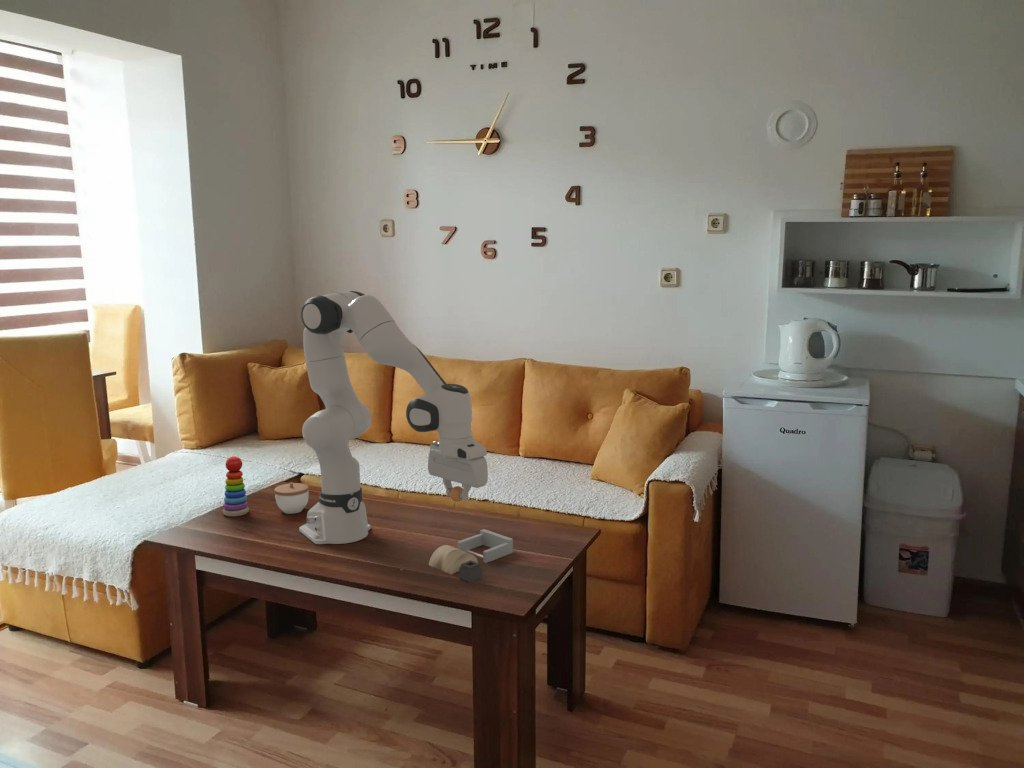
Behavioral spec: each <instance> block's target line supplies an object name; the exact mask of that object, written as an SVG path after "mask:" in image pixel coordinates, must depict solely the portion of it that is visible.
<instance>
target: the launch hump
mask: <svg viewBox="0 0 1024 768" xmlns="http://www.w3.org/2000/svg"><path fill="white" fill-rule="evenodd" d="M470 560H471V561H474V562H477V563H479V561H478V558H477V557H476V555H474V554H472V553H469V552H466V551H462V550H459V549H457V547H454V546H451V545H447V544H445V545H444V544H443V545H440V546H439V547H437V548H436V549H435V550H434V551H433V553H432V554H431V556H430V559H429V561H428V566H430V567H432V568H435V569H437V570H439V571H441V572H445V573H446V574H449V575H453V574H456V573H459V567H461V564H462V563H465V562H468V561H470Z"/></svg>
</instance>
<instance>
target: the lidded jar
mask: <svg viewBox="0 0 1024 768" xmlns="http://www.w3.org/2000/svg"><path fill="white" fill-rule="evenodd" d="M309 489H310V487H309V485H308V484H306V483H301V482H289V483H284V484H280V485H277V486H276V487H275V488H274V491H273V492H274V498H275V502H276V505H277V507H278V508H279V509H280V510H281V511H282V512H283V513H284V514H287V515H288V514H289V515H291V514H298V513H301V512H302V511H303V510H304V508H306V507H307V504H308V502H309V496H310V494H309Z"/></svg>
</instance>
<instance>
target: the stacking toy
mask: <svg viewBox="0 0 1024 768" xmlns="http://www.w3.org/2000/svg"><path fill="white" fill-rule="evenodd" d="M242 467H243V461H242V459H241V458H240V457H238V456H230V457H228V458H227V459H226V461H225V468H226V470H227V472H226V473H225V477H226V478H225V481H224V482H225V487H224V488H225V491H224V493H223V494H224V496H225V497H224V498H223V504H222V507H223V510H222V513H223V515H224V516H225V517H240V516H244V515H246V514H248V513H249V511H250V508H249V506H248V503H249V502H248V501H247V500H248V496H247V494H246V492H247V491H246V489H245V487H246V484H245V483H244V478H243V474H244V473H243V471H242V470H241V469H242Z"/></svg>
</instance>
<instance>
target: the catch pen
mask: <svg viewBox="0 0 1024 768" xmlns="http://www.w3.org/2000/svg"><path fill="white" fill-rule="evenodd" d="M513 541H514V539H513V538H511V537H508V536H505V535H502V534H499V533H497V532H493V531H490V530H488V529H486V528H485V529H484V528H483V529H480V530H479V534H475V535H472V536H469V537H467V538H464V539H461V540H458V541H457V547H456V548H457V549H459V550H462V551H465V552H466V551H467V550H470V551H471V550H472V549H475V548H478V547H480V546H486V547H488V549H485V550H483V551H482V553H483V554H482V555H483V559H482V562H483V563H485V564H487V563H490V562H492V561H495V560H498V559H499V558H504V557H505V556H507V555H511V554H513V553H514V544H513V543H514V542H513Z"/></svg>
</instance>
